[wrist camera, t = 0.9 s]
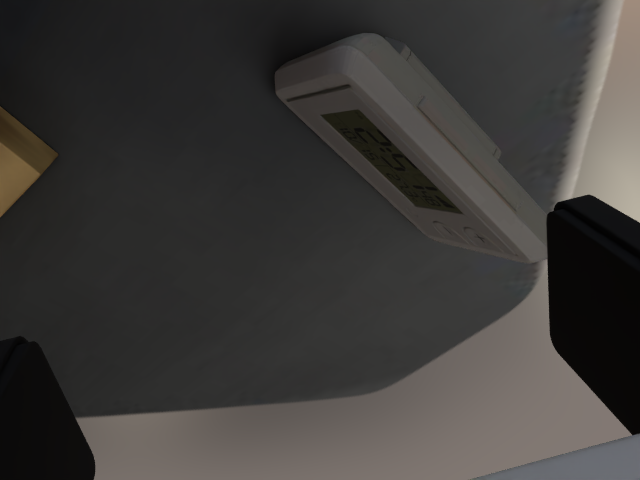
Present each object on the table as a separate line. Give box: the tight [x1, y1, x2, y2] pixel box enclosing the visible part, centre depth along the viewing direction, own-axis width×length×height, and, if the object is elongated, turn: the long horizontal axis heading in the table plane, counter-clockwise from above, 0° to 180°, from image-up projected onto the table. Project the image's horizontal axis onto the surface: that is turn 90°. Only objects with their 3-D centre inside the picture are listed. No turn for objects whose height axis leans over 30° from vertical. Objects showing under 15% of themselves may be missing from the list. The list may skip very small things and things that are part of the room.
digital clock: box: [275, 33, 547, 263], centre depth 33 cm, size 16×9×11 cm, turn 34°
